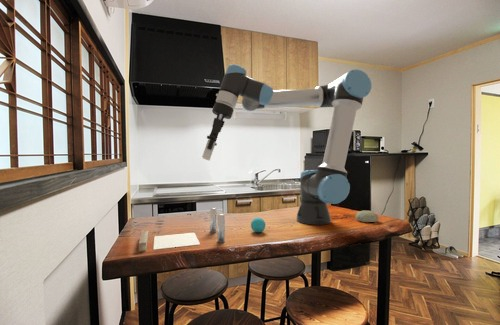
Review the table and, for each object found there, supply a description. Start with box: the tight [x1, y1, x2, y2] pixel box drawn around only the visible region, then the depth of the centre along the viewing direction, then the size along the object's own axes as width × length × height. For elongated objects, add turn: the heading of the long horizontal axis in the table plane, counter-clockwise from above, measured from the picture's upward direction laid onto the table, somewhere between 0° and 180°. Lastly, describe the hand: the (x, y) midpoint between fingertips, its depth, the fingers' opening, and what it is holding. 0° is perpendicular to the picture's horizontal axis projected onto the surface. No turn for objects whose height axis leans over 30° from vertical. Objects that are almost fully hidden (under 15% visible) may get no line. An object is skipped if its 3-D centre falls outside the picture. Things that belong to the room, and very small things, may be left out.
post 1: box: [209, 207, 217, 234], centre depth 92 cm, size 2×2×9 cm
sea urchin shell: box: [355, 209, 380, 223], centre depth 110 cm, size 9×8×8 cm
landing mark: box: [152, 232, 201, 251], centre depth 82 cm, size 14×14×1 cm
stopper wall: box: [138, 230, 149, 253], centre depth 78 cm, size 2×14×2 cm, turn 21°
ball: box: [250, 217, 266, 233], centre depth 92 cm, size 6×6×6 cm
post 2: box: [216, 213, 226, 244], centre depth 81 cm, size 2×2×9 cm
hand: (206, 159), depth 89 cm, fingers open, 13 cm apart
